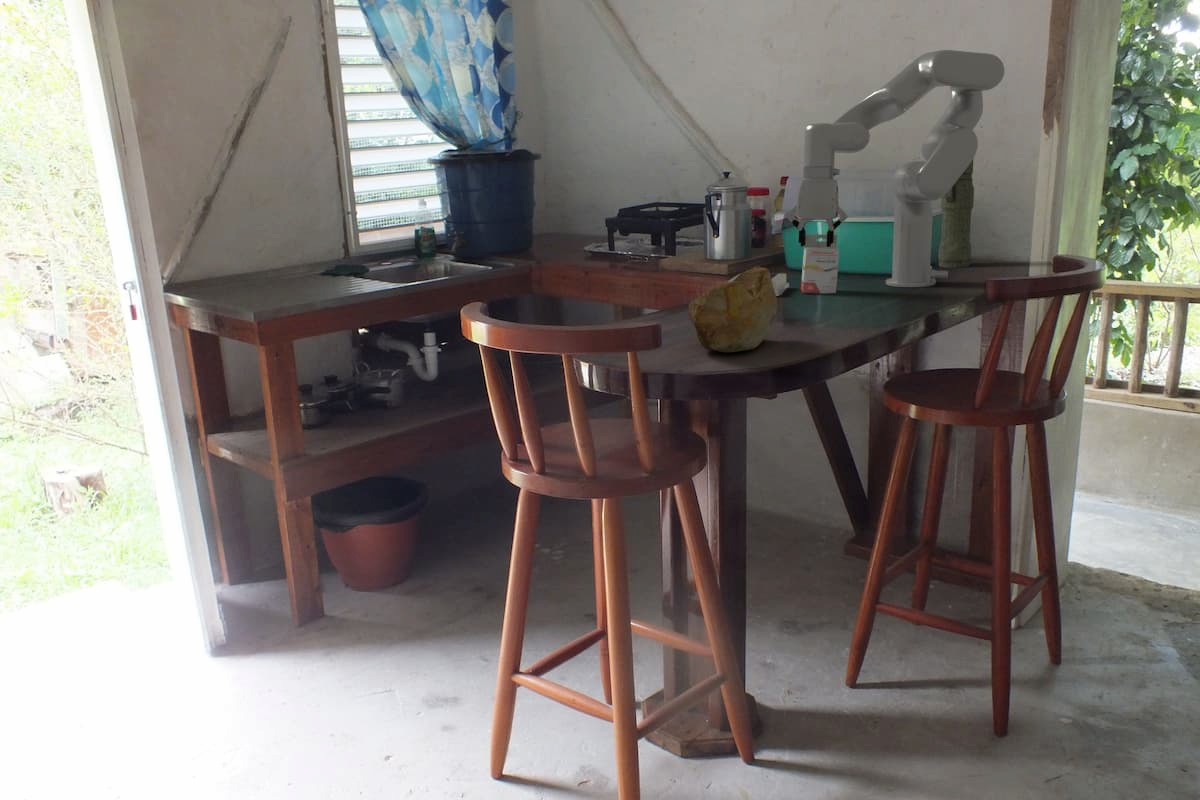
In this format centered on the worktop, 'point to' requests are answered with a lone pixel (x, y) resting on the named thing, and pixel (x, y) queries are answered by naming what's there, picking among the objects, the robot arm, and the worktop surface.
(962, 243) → the thermos
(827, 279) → the ink cartridge box
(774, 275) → the rail dock
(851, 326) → the worktop surface
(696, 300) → the rough brown rock
